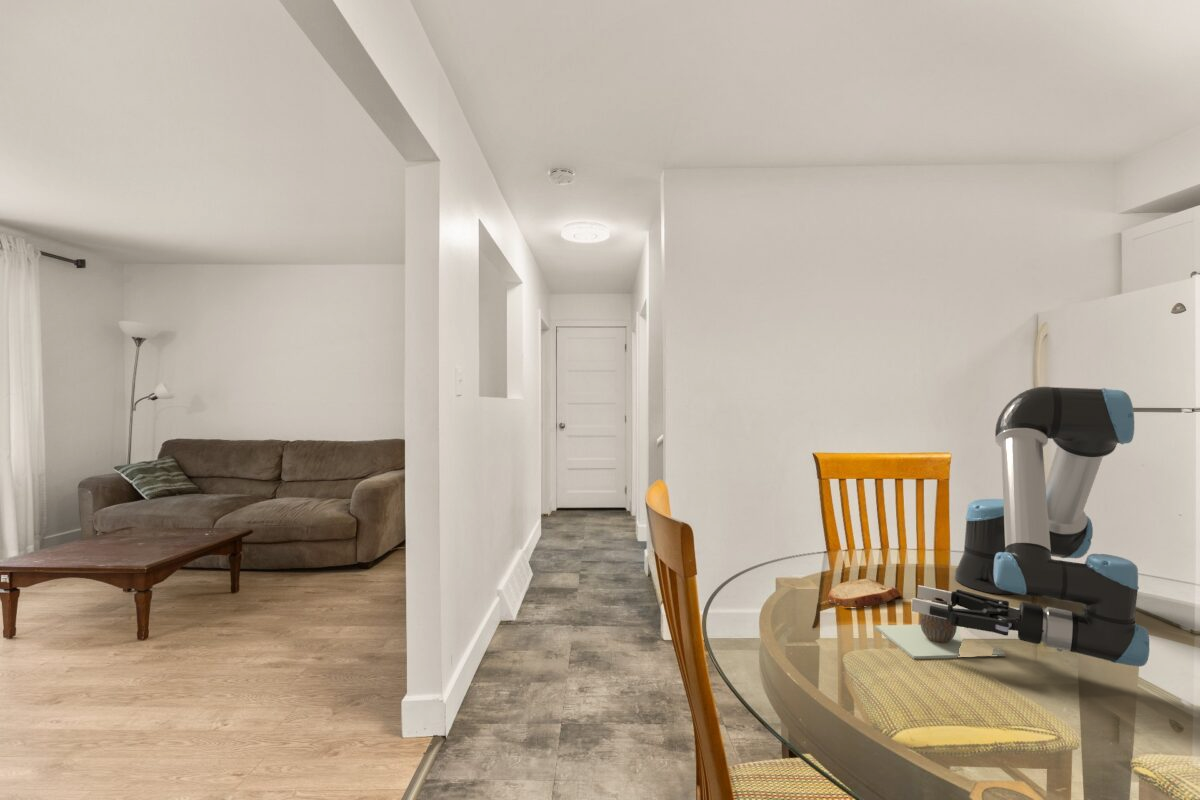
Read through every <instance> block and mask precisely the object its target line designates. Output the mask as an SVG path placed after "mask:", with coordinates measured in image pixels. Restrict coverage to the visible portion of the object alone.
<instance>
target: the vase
mask: <svg viewBox="0 0 1200 800" xmlns="http://www.w3.org/2000/svg"><path fill="white" fill-rule="evenodd" d="M930 602H935V603H939V604H944V605H948V604H947V602H946V600H945V599H943V598H938V597H935V598H933V600H932V601H930ZM919 625H921V629H922V632H923V633H924V635H925V636H926V637H927V638H928V639H930V640H932V641H934V642H938V643H947V642H949V641H950V640H951V639H953V637H954V636H955V633H956V630H957V626H953V625H951V624H950V621H948V620H947V619H943V618H939V617H935V616H930V615H926V614H922V613H920V618H919Z"/></svg>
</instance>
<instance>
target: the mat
mask: <svg viewBox="0 0 1200 800" xmlns="http://www.w3.org/2000/svg"><path fill="white" fill-rule="evenodd" d="M960 628H961V627H959V626H957V630H956V633H955V636H954V637H953V639H951V640H950V641H949V642H947V643H938V642H934V641H932V640H930V639H928V638H927V637H926V636H925V635H924V633H923V632H922V629H921V625H920V624H896V625H895V624H892V625H890V624H889V625H888V624H887V625H882V624H881V625H875V626H874V629H876V631H878V632H879V633H881V634H882V635H883V636H884V637H886V638H887V639H888V640H889V641H890V642H892V643H893V644H894V645H896V646H897V647H898V648H899V649H900V650H901V651H903V652H904V653H905V654H907V655H908V656H909V657H910V658H912V660H922V659H924V660H925V659H926V660H927V659H929V660H930V659H958V658H957V657H958V656H960V654H959V648H960V646H961V643H962V642H963V641H962V640H963V639H962V638H961V637H960V636H961V635H960V634H959V631H960ZM1005 654H1006V653H1004V652H1003V651H1002V650H999V648H997V647H995V648H994V649H993V653H992V655H997V656H1006V655H1005Z"/></svg>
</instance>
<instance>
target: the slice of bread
mask: <svg viewBox="0 0 1200 800" xmlns="http://www.w3.org/2000/svg"><path fill="white" fill-rule="evenodd" d="M899 596H901V593H900V590H899V589H898V588H897V587H894V586H891V587H888V586H886V585H884V584H882V583H880V582H878V581H875V580H873V579H871V578H862V579H861V578H860V579H855V580H854V579H851V580H847V581H845V582H840V583H839V584H837V585H836V586H834V587H832V588H831V590H830V591H829V593H828V596H827V599H828V598H829V599H830V600H831V601H832V602H833V603H835V604H837V605H841V606H844V607H861V608H865V607H864V606H867V607H871V605H872V606H877V605H876V604H878V605H881V603H882V604H883V603H884V602H886V603H888V602H891V601H893V600H895V599H896V598H898V597H899ZM890 600H891V601H890ZM884 604H885V603H884Z"/></svg>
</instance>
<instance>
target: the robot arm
mask: <svg viewBox="0 0 1200 800" xmlns="http://www.w3.org/2000/svg"><path fill="white" fill-rule="evenodd" d="M1134 413H1135V412H1134V406H1133V402H1132V399H1131V398H1130V395H1129V394H1128V393H1127V392H1126V391H1124V390H1119V389H1109V388H1105V387H1102V388H1086V387H1084V388H1083V387H1082V388H1081V387H1054V386H1037V387H1034V388H1030V389H1026V390H1024V391H1022V392H1021V393H1020V392H1019V394H1017V395H1016V396H1015V397H1013V398H1012V399H1011V400H1009V402H1008V403H1007V404H1006V405H1005V407H1004V408H1003V409H1002V411H1001V412H1000V414H999V416H998V418H997V421H996V424H995V433H994V435H995V443H996V444H997V446H999V447H1000V448H1001V449H1000V450H1001V472H1002V496H1003V497H1002V498H985V499H983V498H982V499H978V500H973V501H971V502H969V503H968V506H967V508H966V516H965V521H966V522H965V523H966V524H965V536H964V545H963V546H964V549H963V554H962V556H961V558H960V560H959V563H958V566H957V567H956V568H955V570H954V571H955V574H954V580H955V581H956V582H957V583H959V584H961V585H962V586H965V587H966V588H970V589H973V590H977V591H980V592H985V593H990V594H996V595H997V594H998V595H1015V594H1018V595H1022V596H1024V595H1026V596H1033V597H1039V598H1040V597H1041V598H1047V599H1053V600H1058V601H1064V602H1070V603H1076V604H1082V611H1083V612H1082V613H1079V612H1075V611H1071V610H1066V609H1062V608H1057V607H1051V606H1047V607H1045V608H1043V606H1041V605H1040V604H1035V603H1031V602H1030V603H1029V602H1025V601H1022V602H1020V603H1019V609H1016V608H1013V607H1011V606H1010V602H1009V601H1008V600H1002V599H997V598H991V597H988V596H985V595H982V594H981V595H980V594H977V593H973V592H969V591H967V590H966V591H965V590H962V589H956V590H955V591H948V590H945V589H944V590H943V589H938V588H934V587H930V586H925V585H917V597H912V603H911V612H913V613H917V614H918V613H919V614H921V613H922V614H926V615H930V616H935V617H939V618H943V619H947V620H948V621H950V624H951V625H953V626H959V627H964V628H965V629H973V630H977V631H983V632H989V633H995V634H998V635H1002V636H1006V637H1007V636H1009V631H1017V638H1018V639H1019V641H1022V642H1027V643H1030V644H1035V645H1039V644H1042V643H1043V644H1044V646H1046V647H1048V648H1049V647H1050V648H1052V649H1053V648H1054V649H1056V650H1057V651H1058V652H1063V651H1065V652H1070V653H1076V654H1080V655H1083V656H1087V657H1090V658H1096V659H1099V660H1103V661H1107V662H1111V663H1113V664H1120V665H1126V666H1133V667H1143V666H1145V665H1146V664H1147V663H1148V661H1149V657H1150V636H1149V631H1148V629H1147V628H1146V627H1144V626H1143V625H1139V624H1137V623H1136V620H1135V617H1136V616H1135V615H1136V607H1137V599H1138V591H1139V587H1140V586H1139V569H1138V566H1137V565H1136V564H1135V563H1134V562H1133V561H1131V560H1130V559H1126V558H1124V557H1122V556H1117V555H1114V554H1113V555H1111V554H1106V553H1090V554H1089V555H1087V557H1086V560H1085V562H1084V563H1080V562H1073V561H1066V560H1060V559H1053V558H1052V557H1057V558H1061V559H1066V558H1067V559H1081V558H1083V557H1084V556H1085V555H1086V554H1087V553H1088V551H1089V550H1090V548H1091V545H1092V539H1093V534H1094V533H1093V531H1094V530H1093V523H1092V520H1091V518H1090V517H1089V516H1088V515H1087V514H1086V513H1085V512H1086V511H1084V510H1085V507H1086V505H1087V502H1088V499H1089V496H1090V493H1091V490H1092V488H1093V484H1094V483H1095V480H1096V476H1097V474H1098V472H1099V469H1100V466H1101V463H1102V460H1103V458H1104V457H1106V456H1109V455H1111V454H1112V453H1114V451H1115V449H1116V448H1117V444H1121V445H1125V444H1130V443H1131V442H1133V439H1134V434H1135V414H1134ZM1049 439H1050V440H1051V439H1052V442H1053V443H1054V444H1055V445H1056V448H1055V452H1054V455H1053V459H1052V462H1051V466H1050V468H1049V469H1050V470H1049V472H1048V477H1047V480H1046V473H1045V472H1046V471H1045V459H1044V448H1045V446H1046V445H1047V444H1048V441H1049ZM935 597H938V598H943V599H945V600H946V602H947V604H948V605H944V604H939V603H935V602H931V601H932V600H933V598H935ZM956 606H958V607H962V608H958V607H957V608H956Z"/></svg>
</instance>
